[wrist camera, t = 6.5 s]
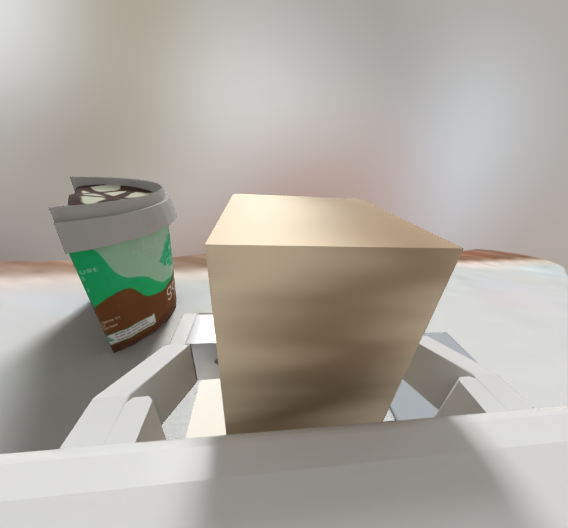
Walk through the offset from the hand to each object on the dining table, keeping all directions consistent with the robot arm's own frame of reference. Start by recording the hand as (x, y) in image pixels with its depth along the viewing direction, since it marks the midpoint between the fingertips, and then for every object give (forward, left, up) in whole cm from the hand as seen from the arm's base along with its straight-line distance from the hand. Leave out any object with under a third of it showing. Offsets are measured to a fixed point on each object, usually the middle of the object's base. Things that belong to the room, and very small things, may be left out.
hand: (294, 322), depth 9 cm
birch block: (0, -1, -6) cm, 6 cm away
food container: (-11, +10, -7) cm, 16 cm away
